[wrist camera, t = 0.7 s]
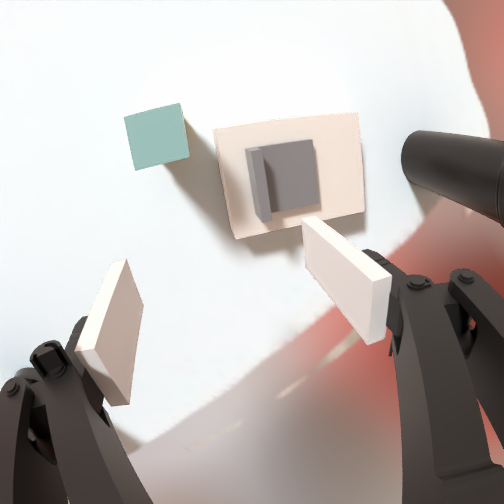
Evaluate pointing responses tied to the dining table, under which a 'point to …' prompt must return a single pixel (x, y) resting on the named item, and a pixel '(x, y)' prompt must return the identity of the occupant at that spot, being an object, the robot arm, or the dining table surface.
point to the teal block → (157, 136)
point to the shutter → (282, 177)
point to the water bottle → (458, 169)
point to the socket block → (326, 160)
